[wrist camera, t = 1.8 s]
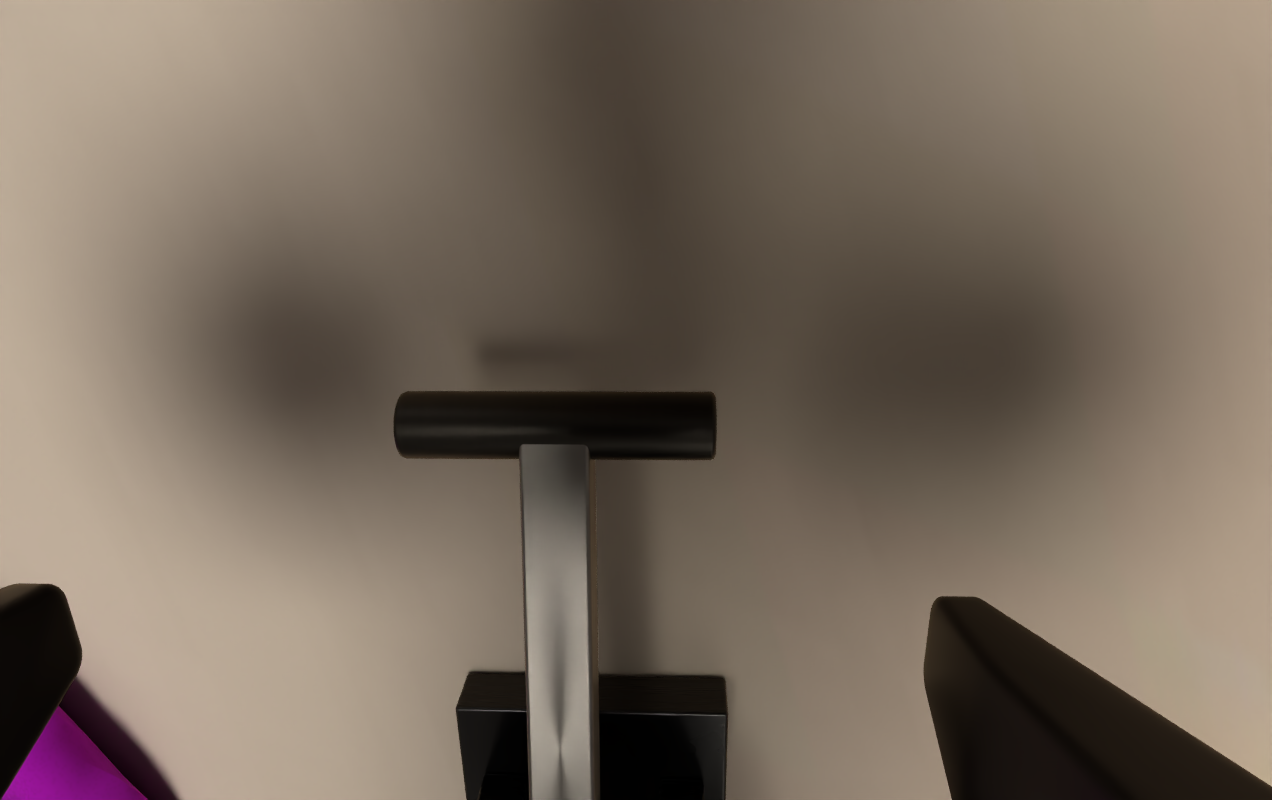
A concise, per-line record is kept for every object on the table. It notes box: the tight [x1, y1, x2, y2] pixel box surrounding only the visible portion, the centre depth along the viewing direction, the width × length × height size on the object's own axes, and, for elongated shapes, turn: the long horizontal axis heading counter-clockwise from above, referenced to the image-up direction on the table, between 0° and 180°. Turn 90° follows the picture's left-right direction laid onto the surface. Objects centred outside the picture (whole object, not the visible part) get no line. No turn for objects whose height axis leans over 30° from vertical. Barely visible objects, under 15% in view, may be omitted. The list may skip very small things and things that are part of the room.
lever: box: [394, 391, 717, 800], centre depth 14 cm, size 14×5×2 cm, turn 1°
